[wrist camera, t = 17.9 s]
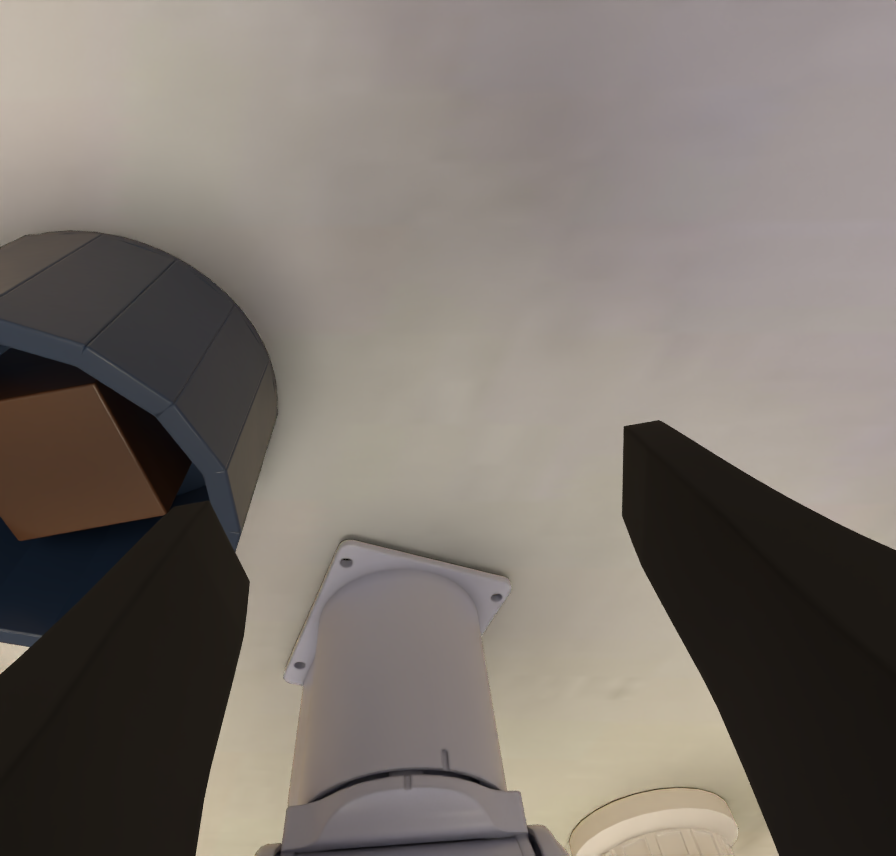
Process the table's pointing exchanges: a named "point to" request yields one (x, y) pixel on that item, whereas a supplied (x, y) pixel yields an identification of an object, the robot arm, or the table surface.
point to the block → (78, 452)
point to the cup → (132, 393)
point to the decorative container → (658, 826)
